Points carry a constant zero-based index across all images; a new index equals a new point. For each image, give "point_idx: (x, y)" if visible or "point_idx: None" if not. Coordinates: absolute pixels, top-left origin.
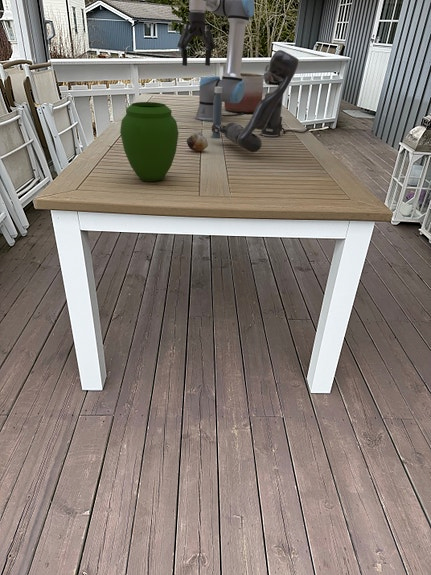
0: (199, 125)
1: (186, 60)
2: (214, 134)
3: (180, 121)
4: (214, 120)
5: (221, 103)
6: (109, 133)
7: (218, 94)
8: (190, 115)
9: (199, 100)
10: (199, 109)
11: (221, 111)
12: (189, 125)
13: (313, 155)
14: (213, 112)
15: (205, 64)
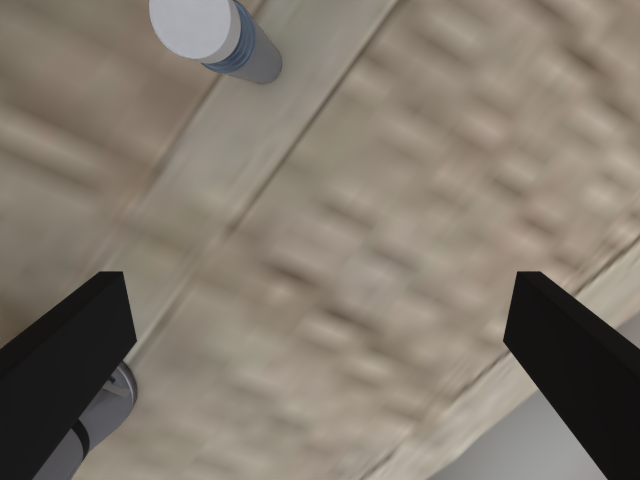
0: (192, 300)
1: (571, 304)
2: (278, 52)
3: (226, 389)
4: (271, 47)
5: None
6: None
7: None
8: (123, 459)
9: (79, 465)
10: (108, 421)
11: None
12: (234, 317)
13: None
14: (266, 58)
15: (130, 343)
